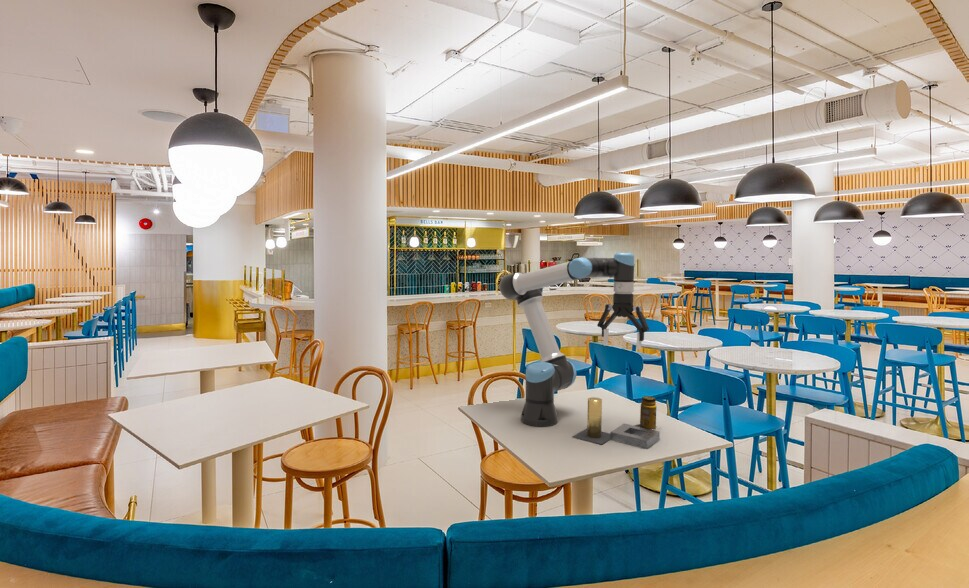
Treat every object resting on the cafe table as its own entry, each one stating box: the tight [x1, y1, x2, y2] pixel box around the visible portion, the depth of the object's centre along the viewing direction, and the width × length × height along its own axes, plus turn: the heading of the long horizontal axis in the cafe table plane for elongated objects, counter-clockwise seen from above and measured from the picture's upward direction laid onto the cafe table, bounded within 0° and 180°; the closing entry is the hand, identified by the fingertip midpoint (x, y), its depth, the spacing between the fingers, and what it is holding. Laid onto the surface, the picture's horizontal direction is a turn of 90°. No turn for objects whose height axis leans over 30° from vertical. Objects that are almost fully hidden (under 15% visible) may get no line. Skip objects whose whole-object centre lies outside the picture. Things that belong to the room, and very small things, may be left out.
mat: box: [571, 428, 611, 446], centre depth 188 cm, size 12×12×1 cm
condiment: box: [632, 395, 661, 431], centre depth 198 cm, size 7×8×12 cm
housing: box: [609, 423, 661, 450], centre depth 185 cm, size 14×12×3 cm
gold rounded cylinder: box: [586, 396, 603, 438], centre depth 187 cm, size 5×5×14 cm
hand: (622, 347), depth 193 cm, fingers open, 13 cm apart
